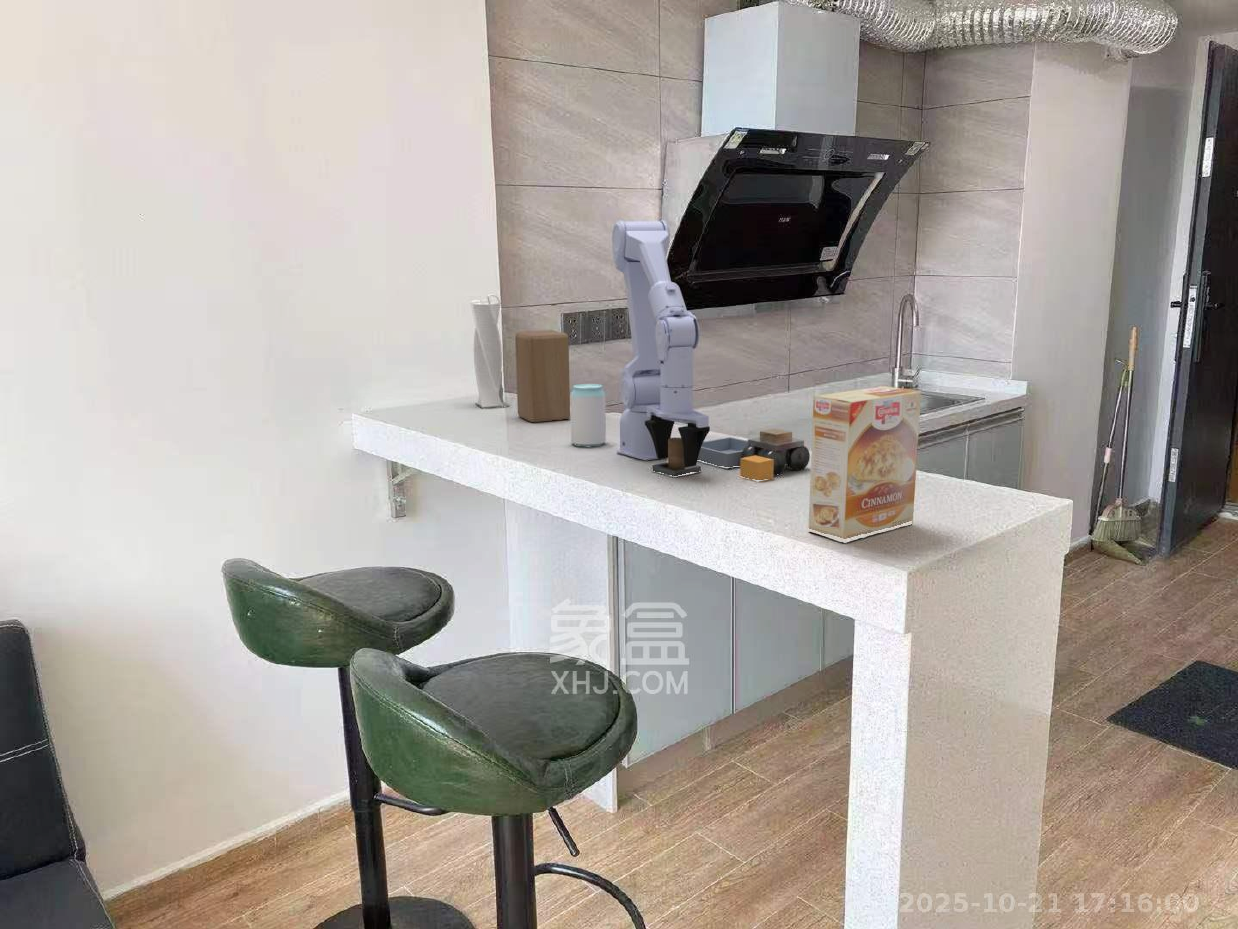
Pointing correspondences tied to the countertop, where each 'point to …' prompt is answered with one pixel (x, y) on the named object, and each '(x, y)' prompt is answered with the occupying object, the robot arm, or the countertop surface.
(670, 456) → the pin
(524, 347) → the block
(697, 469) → the socket ring
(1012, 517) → the countertop surface
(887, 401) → the coffeecake box
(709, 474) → the countertop surface
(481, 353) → the skyscraper
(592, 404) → the can
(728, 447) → the tray
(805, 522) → the countertop surface
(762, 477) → the block
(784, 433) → the trolley
